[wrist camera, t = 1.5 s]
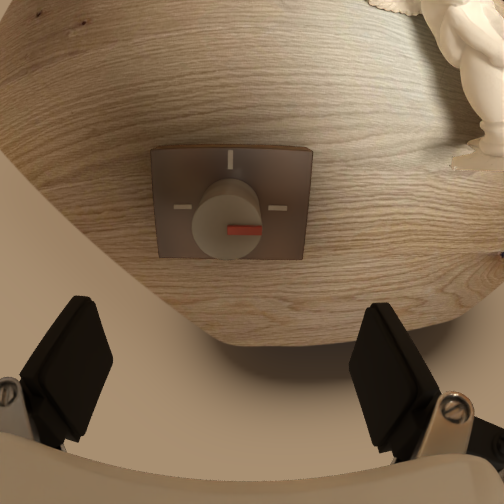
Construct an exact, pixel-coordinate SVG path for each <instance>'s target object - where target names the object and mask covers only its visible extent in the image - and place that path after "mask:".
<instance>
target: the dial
mask: <svg viewBox="0 0 504 504" xmlns="http://www.w3.org/2000/svg"><path fill="white" fill-rule="evenodd" d="M192 234H193V237H194V240H195V242H196V243H197V245H198V246H199V248H200V249H201V250H202V251H204V252H205V253H206V254H208V255H209V256H211V257H214V258H216V259H220V260H235V259H239V258H241V257H244V256H246V255H247V254H249V253H250V252H251V251H252V250H253V249H254V248H255V247H256V246H257V244H258V243H259V241H260V238H261V235H262V219H261V213H260V206H259V200H258V197H257V195H256V193H255V191H254V190H253V189H252V188H251V187H250V186H249V185H248V184H246V183H245V182H243V181H240V180H237V179H222V180H219V181H217V182H215V183H213V184H212V185H211V186H209V187H208V189H207V190H206V191H205V193H204V195H203V197H202V199H201V201H200V203H199V205H198V207H197V209H196V211H195V214H194V216H193V219H192Z"/></svg>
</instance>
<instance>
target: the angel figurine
mask: <svg viewBox="0 0 504 504" xmlns="http://www.w3.org/2000/svg"><path fill="white" fill-rule="evenodd" d="M369 4H370V5H372V6H374V5H375V6H377V8H380V9H384V10H386V11H390V10H392V12H396V13H397V12H400V13H401V14H402V13H406V15H407V16H411V15H414V16H416V15H418V13H419V14H423V16H424V19H425V21H426V23H427V25H428V26H429V28H430V30H431V31H432V33H433V35H434V37H435V39H436V42H437V45H438V47H439V49H440V51H441V53H442V54H443V56H444V57H445V59H446V60H447V61H448V62H449V63H450V64H451V65H453V66H454V67H456V68H459V69H460V77H461V83H462V87H463V91H464V93H465V96H466V98H467V100H468V102H469V103H470V105H471V106H472V108H473V109H474V111H475V112H476V113H477V114H478V116H479V117H480V118H481V119H482V121H481V122H480V128H481V129H482V130H484V132H485V136H483V137H481V138H477V139H473V140H470V141H468V143H467V145H468V146H470V147H471V148H473V149H474V150H475V151H474V152H473V153H471V154H466V155H461V156H457V157H455V156H454V157H453V156H452V157H453V159H452V163H451V165H449V166H450V167H451V168H452V169H453V170H466V171H491V172H504V18H503V17H502V16H501V15H500V14H499V13H498V11H497V10H496V9H495V4H494V2H493V1H492V0H369Z"/></svg>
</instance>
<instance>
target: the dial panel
mask: <svg viewBox="0 0 504 504" xmlns="http://www.w3.org/2000/svg"><path fill="white" fill-rule="evenodd" d="M312 160H313V151H312V150H310V149H308V148H306V147H295V146H278V145H252V144H190V145H164V146H158V147H156V148H153V149H151V172H152V188H153V202H154V214H155V225H156V235H157V245H158V254H159V257H160V258H203V259H216V258H214V257H211V256H209V255H208V254H206V253H205V252H204V251H202V250H201V249H200V248H199V246H198V245H197V243H196V242H195V240H194V237H193V234H192V219H193V216H194V214H195V211H196V209H197V207H198V205H199V203H200V201H201V199H202V197H203V195H204V193H205V191H206V190H207V189H208V187H209V186H211V185H212V184H213V183H215V182H217V181H219V180H222V179H237V180H240V181H243V182H245V183H246V184H248V185H249V186H250V187H251V188H252V189H253V190H254V191H255V193H256V195H257V197H258V200H259V206H260V213H261V219H262V235H261V238H260V241H259V243H258V244H257V246H256V247H255V248H254V249H253V250H252V251H251V252H250V253H249V254H247V255H246V256H244V257H241V258H239V259H260V260H302V259H303V252H304V244H305V235H306V225H307V216H308V206H309V195H310V184H311V172H312Z"/></svg>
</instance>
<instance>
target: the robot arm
mask: <svg viewBox="0 0 504 504" xmlns="http://www.w3.org/2000/svg"><path fill="white" fill-rule="evenodd" d="M112 364H113V356H112V353H111V350H110V347H109V345H108V342H107V339H106V336H105V333H104V330H103V327H102V324H101V321H100V318H99V314H98V311H97V307H96V304H95V303H94V301H92V300H91V298H90V297H86V296H74V297H73V298H72V299H71V300H70V301H69V303H68V304H67V305H66V307H65V308H64V309H63V311H62V312H61V313H60V315H59V316H58V318H57V319H56V320H55V322H54V323H53V325H52V326H51V327H50V329H49V330H48V331H47V333H46V334H45V336H44V337H43V339H42V340H41V342H40V343H39V345H38V346H37V348H36V349H35V351H34V352H33V354H32V355H31V357H30V358H29V360H28V361H27V363H26V364H25V366H24V368H23V369H22V371H21V372H20V374H19V375H20V377H21V380H20V381H18V380H17V379H15V378H12V377H4V378H1V379H0V504H504V429H503V428H500V427H498V426H496V425H494V424H491V423H489V422H487V421H484V420H482V419H480V418H477V417H475V416H474V407H473V404H472V403H471V401H470V400H469V399H468V398H467V397H466V396H465V395H463V394H461V393H459V392H455V391H448V392H445V393H443V394H441V392H440V390H439V387H438V385H437V383H436V381H435V380H434V378H433V376H432V374H431V372H430V370H429V369H428V367H427V365H426V363H425V361H424V360H423V358H422V356H421V355H420V353H419V351H418V349H417V348H416V346H415V344H414V343H413V341H412V339H411V338H410V336H409V334H408V333H407V331H406V329H405V328H404V326H403V324H402V323H401V321H400V320H399V318H398V316H397V315H396V313H395V312H394V310H393V308H392V307H391V305H390V304H389V303H387V302H386V303H373V304H371V306H370V307H368V308H367V309H366V311H365V314H364V318H363V321H362V324H361V328H360V331H359V334H358V337H357V340H356V344H355V347H354V350H353V353H352V356H351V359H350V362H349V371H350V374H351V377H352V380H353V383H354V386H355V389H356V392H357V396H358V399H359V402H360V405H361V408H362V411H363V415H364V418H365V421H366V424H367V428H368V431H369V434H370V437H371V441H372V444H373V445H374V446H377V447H378V450H379V453H383V452H387V451H392V453H393V456H394V459H393V461H392V462H391V464H390V465H388V466H384V467H379V468H375V469H369V470H364V471H358V472H352V473H347V474H340V475H334V476H327V477H319V478H309V479H298V480H283V481H253V482H252V481H247V482H246V481H215V480H201V479H189V478H180V477H172V476H165V475H159V474H153V473H147V472H141V471H136V470H131V469H126V468H121V467H117V466H113V465H109V464H105V463H101V462H97V461H93V460H90V459H87V458H83V457H80V456H77V455H73V454H70V453H67V452H66V449H65V447H64V444H63V443H64V440H65V438H66V439H68V440H71V441H74V442H79V440H80V437H81V436H84V434H85V432H86V430H87V427H88V424H89V422H90V419H91V416H92V413H93V411H94V408H95V406H96V403H97V401H98V398H99V396H100V393H101V391H102V388H103V386H104V383H105V381H106V378H107V376H108V374H109V371H110V369H111V367H112Z"/></svg>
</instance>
